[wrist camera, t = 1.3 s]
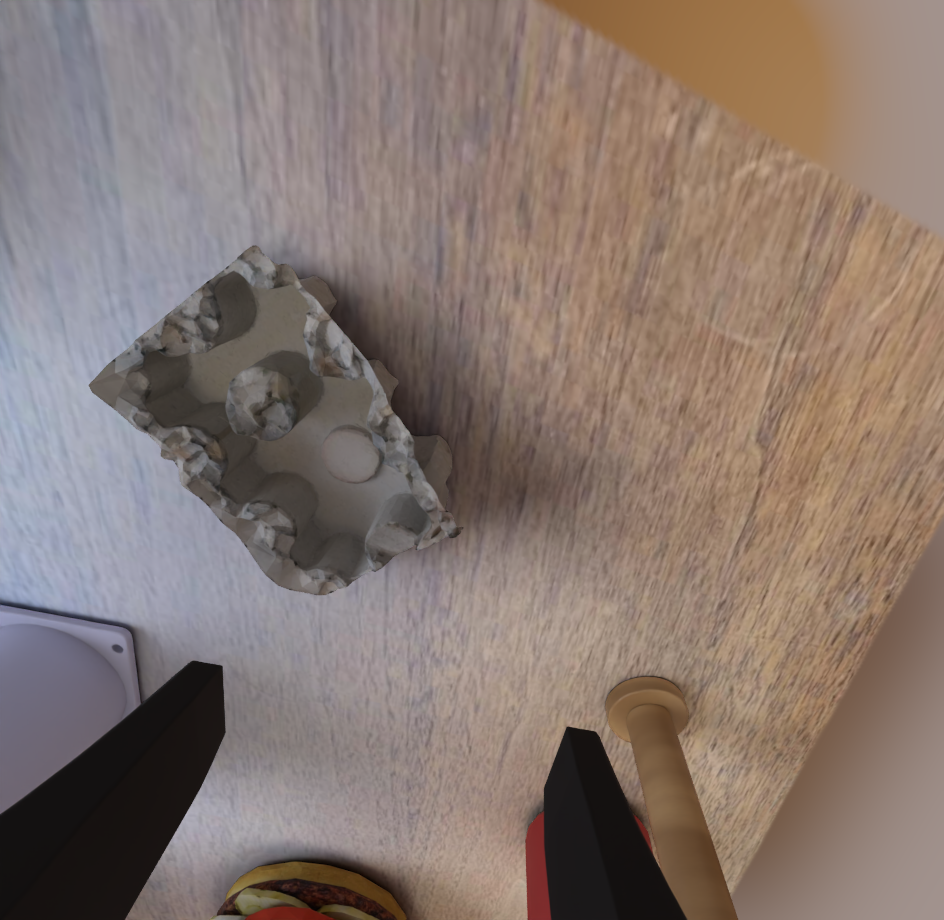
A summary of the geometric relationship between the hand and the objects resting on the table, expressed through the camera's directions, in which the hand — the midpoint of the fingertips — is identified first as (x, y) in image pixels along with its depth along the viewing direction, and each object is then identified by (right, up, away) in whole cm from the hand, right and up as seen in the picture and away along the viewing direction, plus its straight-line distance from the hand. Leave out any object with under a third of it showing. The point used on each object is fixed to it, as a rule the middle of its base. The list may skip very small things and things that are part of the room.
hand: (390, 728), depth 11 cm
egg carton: (-4, +7, +9) cm, 12 cm away
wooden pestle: (+10, -6, +13) cm, 18 cm away
